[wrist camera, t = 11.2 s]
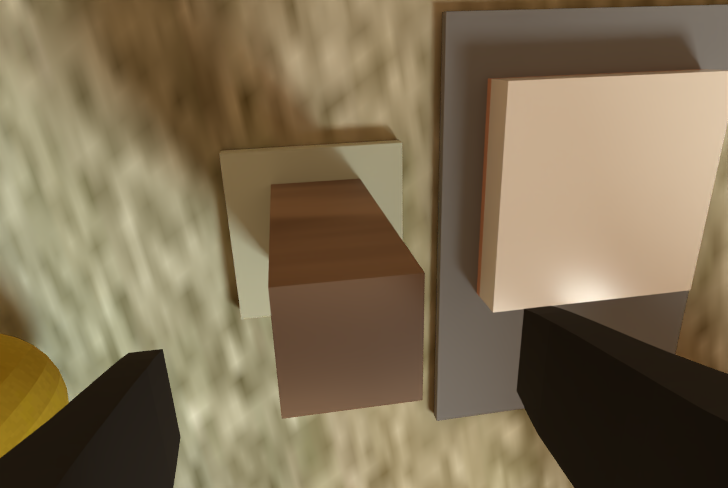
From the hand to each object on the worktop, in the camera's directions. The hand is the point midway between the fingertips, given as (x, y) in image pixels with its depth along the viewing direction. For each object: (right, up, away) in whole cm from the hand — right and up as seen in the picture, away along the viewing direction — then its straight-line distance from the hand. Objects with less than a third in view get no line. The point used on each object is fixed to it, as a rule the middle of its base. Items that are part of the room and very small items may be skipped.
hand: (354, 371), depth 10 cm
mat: (+8, +3, +10) cm, 13 cm away
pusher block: (-1, +3, +7) cm, 8 cm away
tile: (+9, +1, +10) cm, 13 cm away
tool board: (-1, +3, +8) cm, 9 cm away
